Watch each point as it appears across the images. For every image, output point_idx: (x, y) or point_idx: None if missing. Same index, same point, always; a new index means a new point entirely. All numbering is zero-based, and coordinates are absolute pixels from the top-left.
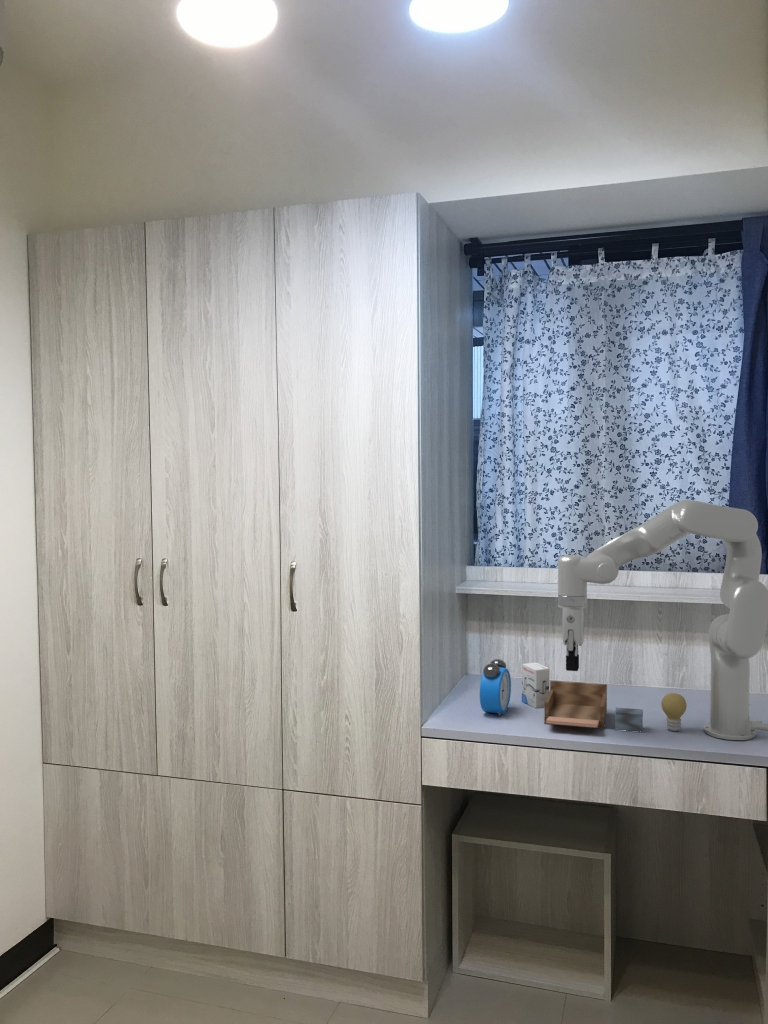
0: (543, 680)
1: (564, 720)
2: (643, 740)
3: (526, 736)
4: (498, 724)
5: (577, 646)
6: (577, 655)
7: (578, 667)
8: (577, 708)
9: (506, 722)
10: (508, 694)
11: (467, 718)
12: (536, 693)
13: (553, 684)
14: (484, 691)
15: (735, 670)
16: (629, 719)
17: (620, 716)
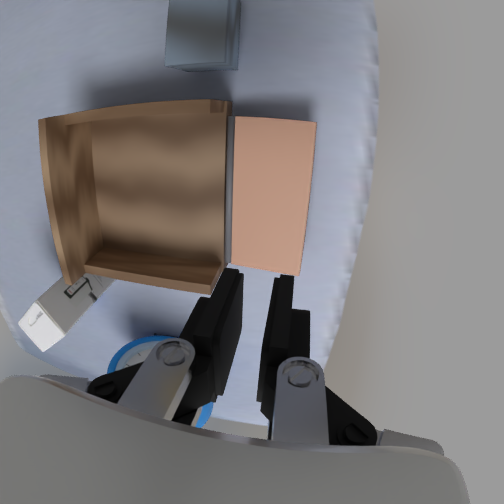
0: (67, 298)
1: (283, 224)
2: (318, 2)
3: (339, 301)
4: (259, 350)
5: (172, 404)
6: (221, 343)
7: (236, 274)
8: (120, 186)
9: (240, 337)
10: (135, 350)
11: (234, 389)
12: (98, 296)
13: (74, 272)
14: (209, 413)
15: None
16: (230, 24)
17: (228, 47)
